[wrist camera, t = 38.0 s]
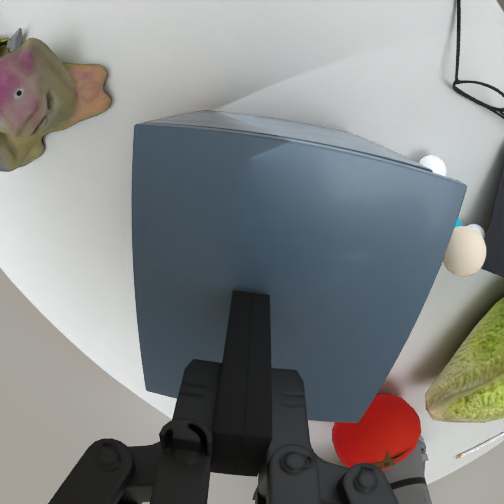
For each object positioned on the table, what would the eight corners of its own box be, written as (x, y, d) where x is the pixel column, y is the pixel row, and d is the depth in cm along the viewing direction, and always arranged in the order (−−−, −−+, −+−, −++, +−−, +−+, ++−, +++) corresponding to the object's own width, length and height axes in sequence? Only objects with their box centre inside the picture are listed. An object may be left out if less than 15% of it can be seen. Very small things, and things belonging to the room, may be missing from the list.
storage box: (350, 132, 25) (433, 170, 12) (315, 283, 31) (342, 401, 18) (204, 110, 24) (142, 122, 11) (191, 267, 31) (149, 380, 18)
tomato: (331, 431, 43) (340, 492, 33) (323, 389, 38) (334, 463, 28) (405, 412, 41) (423, 470, 31) (410, 367, 37) (437, 434, 27)
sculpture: (24, 183, 27) (-44, 216, 18) (-4, 120, 24) (-73, 137, 15) (123, 99, 23) (49, 102, 14) (87, 28, 20) (13, 9, 11)
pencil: (515, 425, 49) (516, 427, 48) (453, 458, 52) (454, 460, 52) (516, 424, 48) (517, 426, 48) (454, 456, 52) (455, 459, 51)
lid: (459, 180, 11) (468, 185, 10) (357, 413, 17) (358, 423, 17) (142, 122, 11) (133, 124, 11) (149, 381, 18) (145, 391, 17)
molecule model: (387, 148, 25) (436, 172, 17) (488, 162, 24) (546, 188, 16) (372, 272, 30) (402, 329, 22) (466, 269, 30) (508, 315, 22)
